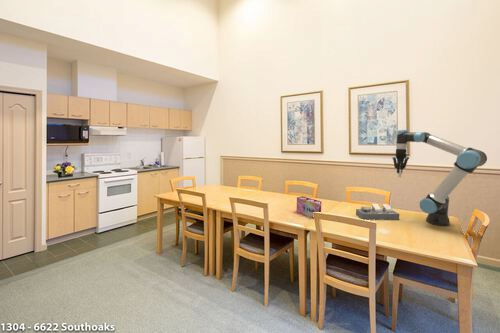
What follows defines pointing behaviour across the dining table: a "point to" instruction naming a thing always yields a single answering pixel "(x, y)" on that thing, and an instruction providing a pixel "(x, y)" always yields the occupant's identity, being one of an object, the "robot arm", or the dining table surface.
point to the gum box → (308, 206)
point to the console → (376, 214)
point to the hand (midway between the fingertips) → (399, 177)
